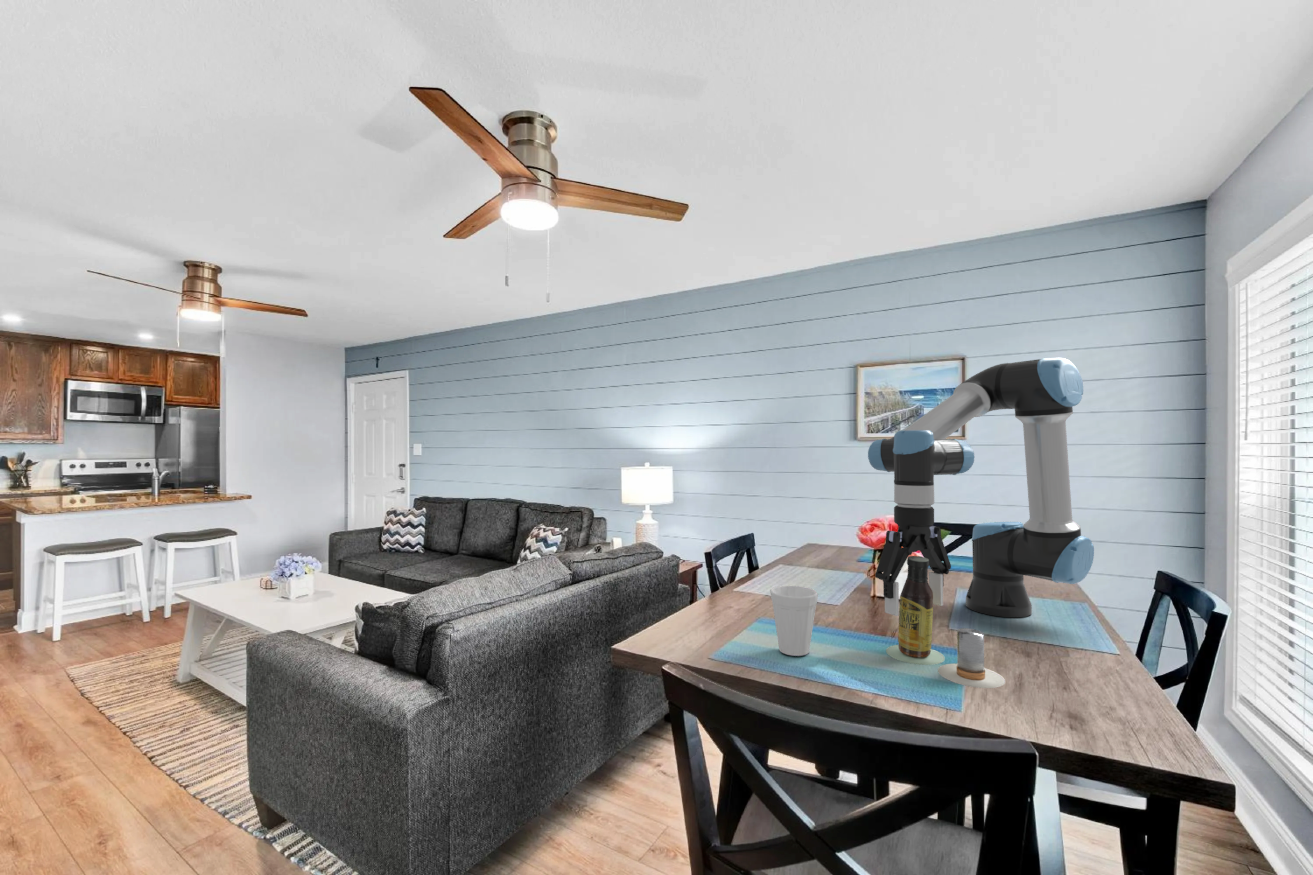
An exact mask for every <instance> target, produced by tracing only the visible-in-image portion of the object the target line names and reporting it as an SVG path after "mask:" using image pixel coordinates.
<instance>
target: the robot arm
mask: <svg viewBox="0 0 1313 875" xmlns="http://www.w3.org/2000/svg"><path fill="white" fill-rule="evenodd" d="M1083 395H1084V382H1083V378H1082V376H1081V372H1079V369H1078V368H1077V366H1075V364H1074V363H1073V362H1072V361H1071V360H1069V359H1068V358H1067V359H1066V358H1064V357H1044V358H1039V359H1031V360H1024V361H1023V360H1022V361H1016V362H1004V363H999V364H996V365H992V366H990V367H988V368H985V369H984V370H982V371H978V373H975V374H974V375H972V376H970V377H968V378H967V379H965V381H963V382H961V383H960V384H959V385H957V386H956V387H955V389H954V390H953V394H952V395H950V396H949V397H947V398H946V399H945V400H943V401H942V402H940V403H939V404H938V405H936V406H935V407H934V408H932V409H931V410H929V411H928V412H926V413H925V414H924V415H922V416H921V417H919V418H918V419H917V420H915V421H914V422H912V423H911V424H910V425H908V426H907V427H904V429H903V430H898V431H896V432H895V433H894V436H892V437H891V438H888V439H887V438H881V439H876V440H874V441H873V442H871V444H870V445H869V447H868V450H867V458H868V462H869V464H870V465H871V467H872V468H874V470H876V471H882V472H886V473H887V472H888V473H893V474H894V476H893V477H894V478H893V484H894V485H893V486H894V488H893V489H894V490H893V491H894V496H893V498H894V499H893V500H894V501H893V502H894V503H895V504H896V505H895V506H894V507H893V521H894V523H895V524H896V525H897V526H898V528H897V531H894V530H887V531H886V533H885V543H884V546H883V548H882V549H883V550H882V552H881V554H880V559H879V561H878V564H877V567H876V571H875V574H874V577H875V578H876V579H879V580H881V581H882V582H883V583H882V584H883V585H882V586H883V593H882V594H883V597H884V613H886V614H888V615H891V616H896V617H899V608H900V594H899V591H900V590H899V589H900V588H899V586H900V584H899V582H897V578H898V576H899V574H900V572H901V571H902V569H903V568H904V567H903V566H904V565H905V562H907V558H908V557H909V556H912V554H913V553H916V552H920V554H921V555H922V557H925V558H927V559H929V568H930V570H931V571H928V584H929V586H930V588H931V589H932V591H933V605H935V606H939V607H942V606H944V586H945V584H944V581H945V580H944V575H948V574H949V573H950V569H952V564H951V561H950V558H949V555H948V553H947V549H946V547H945V544H944V542H943V538H942V530H941V527H940V526H934V524H935V508H934V507H933V505H934V504H935V482H934V481H935V478H934V477H935V476H942V475H943V476H944V475H945V476H946V475H950V476H951V475H953V476H956V475H959V474H965V473H966V472H968V471H969V470H971V469H972V466H973V465H974V463H975V452H974V450H973V447H972V446H971V445H970V443H968V442H967V441H966V440H963V439H956V438H948V437H950V436H951V435H952V434H954V433H955V432H956V431H958V430H959V429H960V428H962V427H963V426H965V425H966V424H968V422H970V421H971V420H972V419H974V418H980V417H983V416H985V415H986V414H987V413H989V412H992V411H997V410H998V411H1001V410H1014V416H1015V418H1016V419H1017V420H1019V421H1020V422H1021V423H1022V429H1023V430H1022V431H1023V442H1024V454H1025V455H1024V456H1025V468H1026V469H1025V470H1026V471H1025V472H1026V484H1027V500H1028V512H1029V514H1028V515H1029V519H1027V521H1026V522H1025V523H1023V522H1020V521H997V522H996V521H994V522H993V521H992V522H981V523H977V524H975V525H974V526H973V528H972V538H971V542H972V543H971V545H972V578H971V582H970V585H969V587H968V590H967V593H966V595H965V606H966V607H967V608H968V609H969V610H972V611H974V612H977V613H981V614H984V615H989V616H994V617H1003V618H1026V617H1029V616H1031V615H1032V614H1033V610H1032V609H1033V604H1032V602H1031V599H1030V597H1029V594H1028V591H1027V588H1026V586H1025V582H1024V576H1025V577H1026V576H1027V577H1030V578H1031V577H1032V578H1038V579H1040V580H1041V579H1042V580H1046V581H1050V582H1053V583H1062V584H1068V585H1075V584H1078V583H1081V582H1082V581H1083V580H1084V579H1085V578H1086V577H1087V576H1088V574H1089V572H1090V571H1091V568H1092V566H1093V562H1094V558H1095V548H1094V544H1093V543H1092V542H1093V541H1092V540H1091V538H1089V537H1086V536H1085V535H1082V529H1081V525H1079V524H1078V523H1077V522H1076V521H1075V520H1073V514H1072V511H1073V510H1072V498H1071V496H1072V494H1071V485H1070V484H1071V483H1070V469H1069V466H1070V465H1069V452H1068V438H1067V424H1066V421H1067V419H1068V418H1069V417H1071V416H1072V415H1073V413H1074V412H1073V410H1074V409H1073V407H1075V406H1078V405H1079V404H1080V403H1081V401H1082V399H1083Z"/></svg>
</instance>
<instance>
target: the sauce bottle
mask: <svg viewBox="0 0 1313 875" xmlns="http://www.w3.org/2000/svg"><path fill="white" fill-rule="evenodd" d="M906 564H907V575H906V579H905V581H904V582H905V583H904V585H903V588H902V589H901V593H900V594H899V616H898V633H897V635H898V638H897V642H898V645H899V650H900V651H901V652H902V653H903V654H905V655H908V656H911V657H914V658H924V657H927V656H929V655H930V652H931V650H930V649H932V638H933V619H934V617H933V614H934V604H933V591H932V589H931V588H930V586H929V571H928V570H929V568H930V566H929V559H927V558H925V557H923V556H920V555H909V556H908V557H907V559H906Z"/></svg>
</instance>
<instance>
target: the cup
mask: <svg viewBox="0 0 1313 875" xmlns="http://www.w3.org/2000/svg"><path fill="white" fill-rule="evenodd" d="M769 591H770V593H769V594H770V599H771V603H772V608H773V614H774V623H775V628H776V629H775V630H776V636H777V643H778V649H779V652H781V653H782V654H785V655H787V656H793V657H794V656H795V657H796V656H797V657H801V656H805V655H808V654H809V653H810V648H811V643H812V634H813V629H814V621H815V614H816V608H817V603H818V598H819V596H818V595H819V593H818V592H817V590H816V589H813V588H810V587H806V586H801V585H800V586H799V585H778V586H774V587H772V588H771V589H770V590H769Z"/></svg>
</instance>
